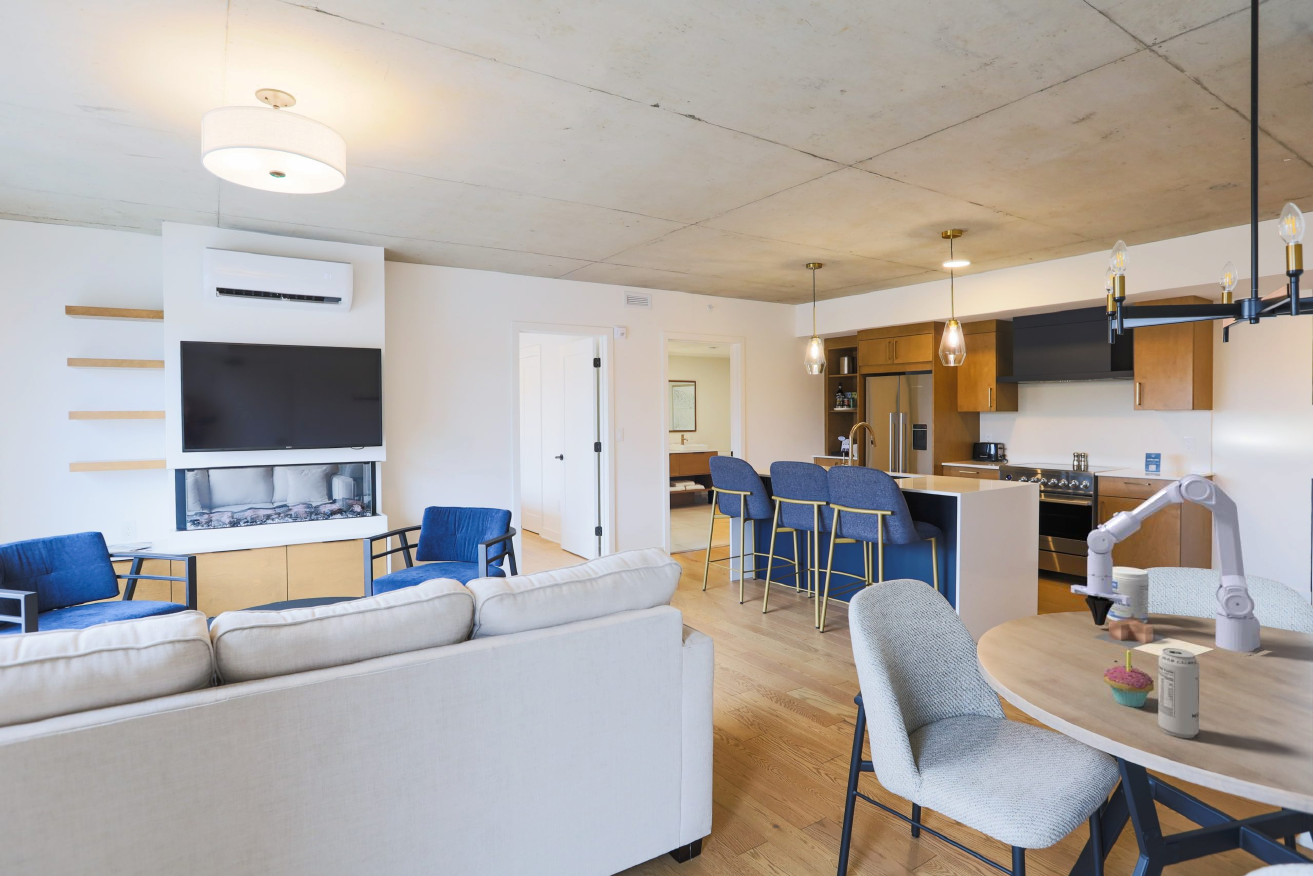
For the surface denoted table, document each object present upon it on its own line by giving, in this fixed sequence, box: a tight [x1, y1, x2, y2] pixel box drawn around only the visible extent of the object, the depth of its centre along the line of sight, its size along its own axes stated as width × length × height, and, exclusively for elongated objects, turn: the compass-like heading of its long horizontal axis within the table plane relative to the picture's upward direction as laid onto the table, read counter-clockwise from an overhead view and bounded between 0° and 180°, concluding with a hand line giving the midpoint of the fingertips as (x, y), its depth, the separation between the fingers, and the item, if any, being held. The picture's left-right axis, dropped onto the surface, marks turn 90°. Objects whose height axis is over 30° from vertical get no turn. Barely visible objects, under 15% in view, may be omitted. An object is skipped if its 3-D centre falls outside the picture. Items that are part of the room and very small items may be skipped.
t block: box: [1108, 617, 1154, 643], centre depth 177 cm, size 7×10×4 cm
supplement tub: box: [1106, 566, 1150, 624], centre depth 194 cm, size 10×10×15 cm
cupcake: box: [1103, 647, 1155, 708], centre depth 141 cm, size 9×8×12 cm
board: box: [1092, 631, 1215, 657], centre depth 174 cm, size 16×20×1 cm
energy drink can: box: [1157, 648, 1200, 739], centre depth 127 cm, size 6×6×15 cm
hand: (1099, 624), depth 185 cm, fingers closed
